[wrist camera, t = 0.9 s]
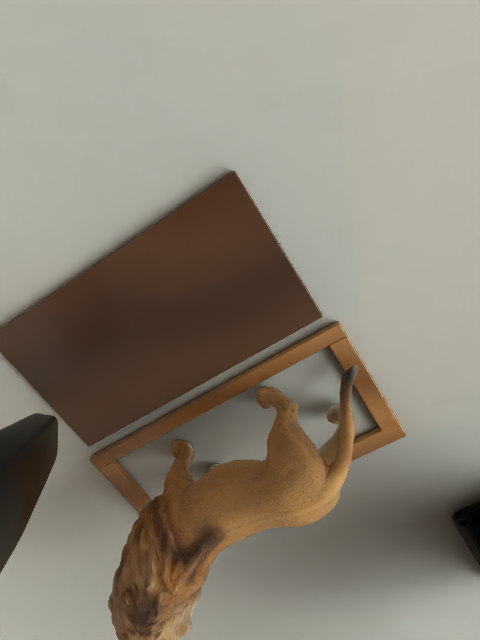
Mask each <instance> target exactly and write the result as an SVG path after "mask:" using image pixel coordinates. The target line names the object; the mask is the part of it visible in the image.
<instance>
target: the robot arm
mask: <svg viewBox="0 0 480 640" xmlns="http://www.w3.org/2000/svg"><path fill="white" fill-rule="evenodd" d="M57 450H58V421H57V418H56V417H55V416H51V415H44V414H37V413H36V414H33V415H30V416H28V417H26V418H24V419H22V420H20V421H18V422H16V423H14V424H12V425H10V426H8V427H6V428H3V429H1V430H0V573H1V571H2V569H3V568H4V566H5V564H6V563H7V561H8V559H9V557H10V556H11V554H12V552H13V551H14V549H15V547H16V545H17V543H18V542H19V540H20V538H21V536H22V534H23V532H24V530H25V528H26V525H27V523H28V521H29V519H30V517H31V514H32V512H33V510H34V508H35V505H36V503H37V501H38V499H39V496H40V494H41V492H42V490H43V487H44V485H45V483H46V481H47V479H48V476H49V474H50V472H51V470H52V467H53V465H54V463H55V460H56V456H57ZM452 520H453V522H454V524H455V526H456V527H457V529H458V531H459V532H460V534H461V536H462V537H463V539H464V541H465V542H466V544H467V546H468V547H469V549H470V550H471V552H472V554H473V555H474V557H475V559H476V560H477V562H478V564H479V565H480V503H477V504H475V505H472V506H470V507H467V508H465V509H463V510H460V511H458V512H456V513H454V515H453V516H452Z"/></svg>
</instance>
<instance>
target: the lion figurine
mask: <svg viewBox="0 0 480 640" xmlns="http://www.w3.org/2000/svg"><path fill="white" fill-rule="evenodd" d="M357 373H358V367H357V366H356V365H353V366H352V367H350V368H349V369H347V370H346V371H345V372H344V374H343V378H342V381H341V389H340V403H339V404H335V405H333V406H331V407H329V409H328V411H327V419H328V421H329V422H331V423H335V424H339V425H338V427H337V429H336V431H335V433H334V434H333V436H332V437H331V438H330V439H329V440H328V441H327V442H326V443H325V444H324V445H323V446H322V447H321V448H320V449H319V450H318V451H317V449H316V447H315V446H314V444H313V443H312V442H311V440H310V439H309V437H308V436H307V435H306V434H305V432H304V431H303V430H302V429H301V427H300V426H299V424H298V421H297V415H298V410H299V409H298V406H297V404H296V403H295V402H293V401H291V400H290V399H288V398H287V397H286V396H284V395H283V394H282V393H281V392H280V391H279V390H277V389H275V388H272V387H262V388H260V389H259V390H258V391H257V393H256V399H257V402H258V403H259V405H260V406H261V407H262V408H264V409H268V408H272V407H276V409H277V417H276V419H275V421H274V424H273V427H272V429H271V431H270V433H269V436H268V440H267V458H266V460H264V461H258V460H234V461H230V462H227V463H224V464H215V465H213V466H211V467H210V468H209V469H208V470H207V472H206V474H205V475H204V476H202V477H201V478H200V479H198V480H197V481H196V482H194V480H193V478H192V476H191V475H190V473H189V469H190V464H191V462H192V460H193V457H194V451H193V449H192V446H191V444H190V443H189V442H186V441H183V440H176V441H174V442H173V443H172V446H171V452H172V455H173V457H175V458H176V459H175V460H174V462H173V465H172V466H171V468H170V470H169V472H168V474H167V476H166V479H165V484H164V492H163V494H162V495H160V496H157V497H155V498H154V500H153V501H149V502H148V503H147V504H145V505H143V508H142V510H141V512H140V516H139V519H138V520H136V522H135V523H134V525H133V527H132V530H131V533H130V534H129V536H128V540H127V543H126V544H125V546H124V548H123V551H122V557H121V562H120V565H119V567H118V569H117V570H116V572H115V575H114V580H113V591H112V593H111V595H110V597H109V601H108V607H109V609H110V611H111V613H112V623H113V625H114V627H115V629H116V635H117V638H118V639H119V640H181V639H182V637H183V636H185V635H186V634H187V633H188V632H189V631H190V629H191V625H192V622H191V615H192V614H193V611H194V607H195V604H196V603H197V601H198V599H199V598H200V595H201V586H202V584H203V583H204V581H205V579H206V577H207V574H208V571H209V567H210V564H211V563H212V562H213V560H214V559H215V557H216V556H217V554H218V553H219V552H220V551H222V550H223V549H225V548H226V547H228V546H229V545H231V544H233V543H235V542H237V541H239V540H241V539H243V538H246V537H249V536H251V535H254V534H255V533H257V532H259V531H262V530H265V529H268V528H273V527H299V526H304V525H308V524H311V523H314V522H316V521H318V520H320V519H321V518H323V517H324V516H325V515H326V514H327V513H329V512H330V511H331V510H332V509H333V508H334V507H335V506H336V504H337V502H338V500H339V496H340V489H341V488H342V486H343V484H344V482H345V480H346V477H347V475H348V472H349V468H350V464H351V460H352V451H353V439H354V438H355V425H354V415H353V412H352V410H351V389H352V386H353V384H354V379H355V377H356V375H357Z"/></svg>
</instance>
